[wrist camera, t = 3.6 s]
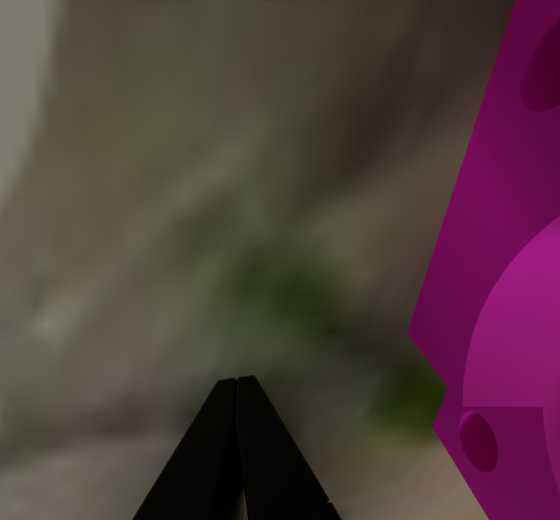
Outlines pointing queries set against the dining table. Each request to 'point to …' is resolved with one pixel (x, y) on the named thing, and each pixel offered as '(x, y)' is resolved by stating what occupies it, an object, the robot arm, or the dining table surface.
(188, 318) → the dining table surface
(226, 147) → the dining table surface
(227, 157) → the dining table surface
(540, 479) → the toy block
